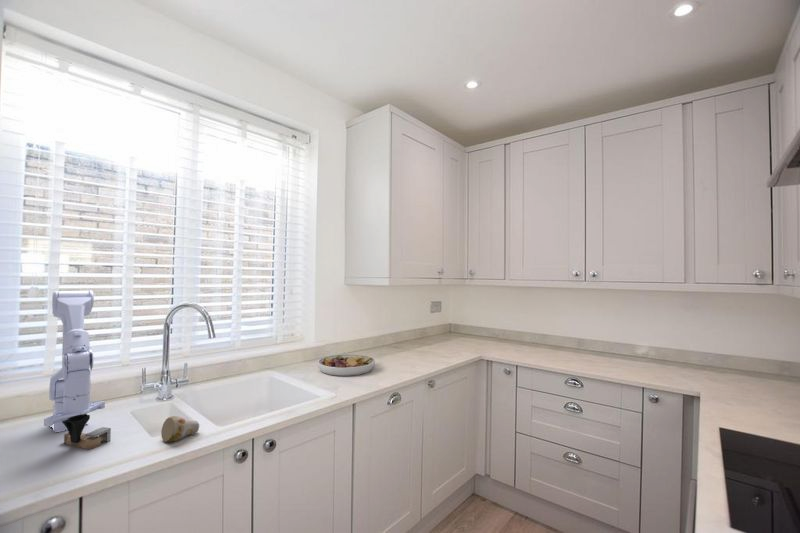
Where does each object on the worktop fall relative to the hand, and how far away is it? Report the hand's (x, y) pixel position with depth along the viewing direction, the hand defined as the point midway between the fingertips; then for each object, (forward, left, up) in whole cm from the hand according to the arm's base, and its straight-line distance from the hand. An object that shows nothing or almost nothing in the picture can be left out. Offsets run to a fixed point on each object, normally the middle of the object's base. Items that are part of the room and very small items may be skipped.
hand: (75, 442), depth 106 cm
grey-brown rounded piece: (+16, +21, -2) cm, 27 cm away
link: (-1, +2, -1) cm, 2 cm away
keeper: (+2, +5, -2) cm, 5 cm away
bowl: (+1, +110, -2) cm, 110 cm away
